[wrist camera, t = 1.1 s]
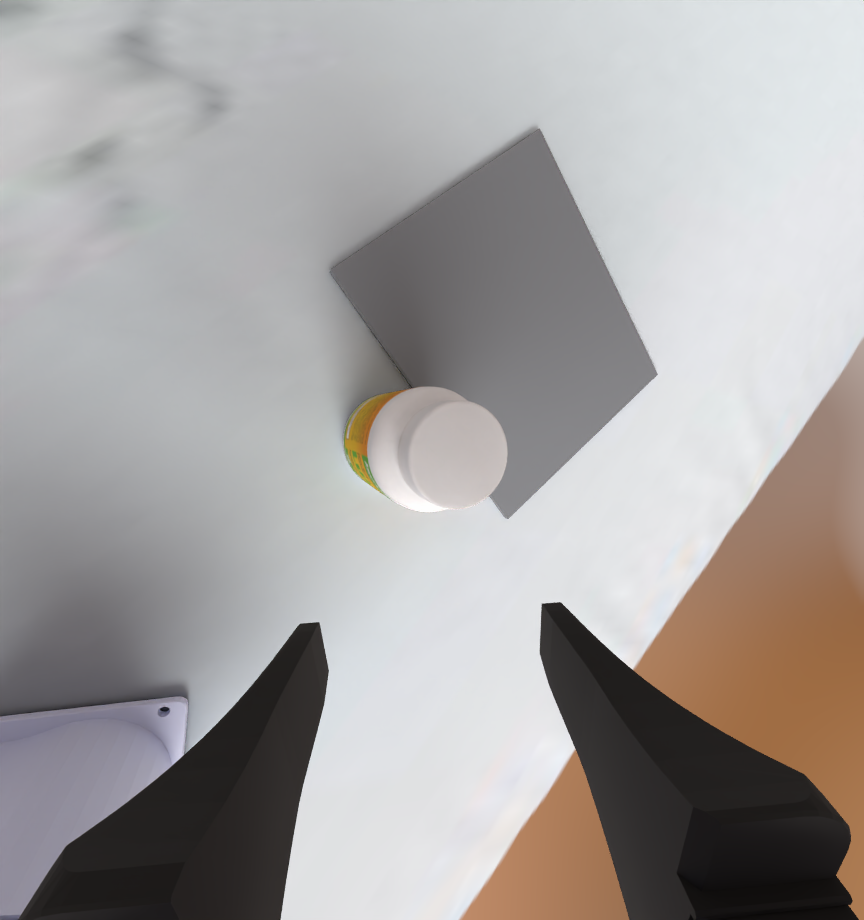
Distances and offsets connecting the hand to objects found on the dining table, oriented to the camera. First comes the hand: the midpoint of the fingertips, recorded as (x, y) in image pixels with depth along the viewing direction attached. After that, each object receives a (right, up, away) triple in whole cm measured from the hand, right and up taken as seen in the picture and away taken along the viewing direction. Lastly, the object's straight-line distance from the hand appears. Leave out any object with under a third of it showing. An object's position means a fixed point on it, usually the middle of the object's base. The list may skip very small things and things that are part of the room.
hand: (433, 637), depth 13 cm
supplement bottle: (-3, +7, +11) cm, 13 cm away
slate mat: (+6, +14, +13) cm, 20 cm away
